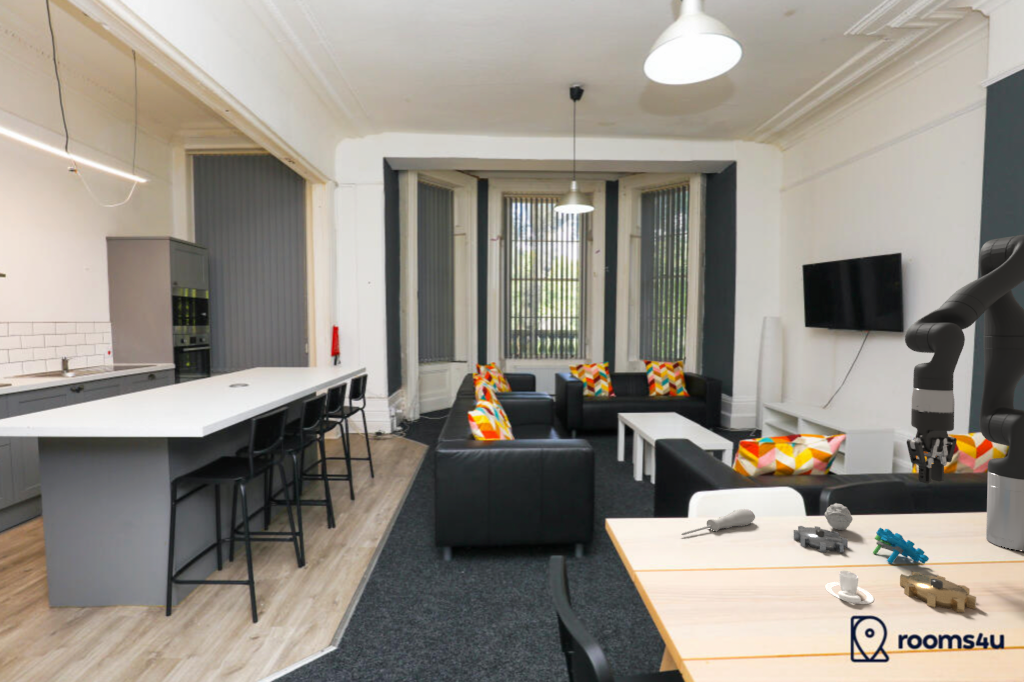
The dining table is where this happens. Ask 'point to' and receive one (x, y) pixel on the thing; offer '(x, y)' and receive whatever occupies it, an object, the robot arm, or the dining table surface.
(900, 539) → the gear
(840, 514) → the grey rounded lump
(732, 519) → the screwdriver
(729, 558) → the dining table surface
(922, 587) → the gear
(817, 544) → the gear
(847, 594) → the teacup and saucer
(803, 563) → the dining table surface
